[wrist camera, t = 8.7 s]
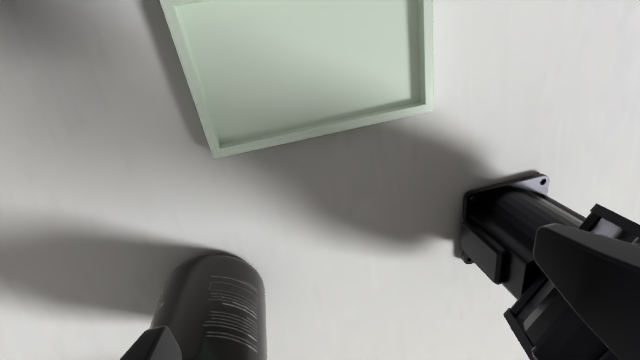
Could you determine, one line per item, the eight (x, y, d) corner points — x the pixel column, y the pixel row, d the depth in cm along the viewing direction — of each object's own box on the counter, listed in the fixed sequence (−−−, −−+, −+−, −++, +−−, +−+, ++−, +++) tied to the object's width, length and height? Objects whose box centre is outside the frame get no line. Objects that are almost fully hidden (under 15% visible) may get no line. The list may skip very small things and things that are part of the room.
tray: (420, -47, 16) (432, -52, 15) (424, 107, 20) (433, 111, 19) (164, -3, 15) (157, -6, 14) (215, 152, 19) (213, 159, 18)
